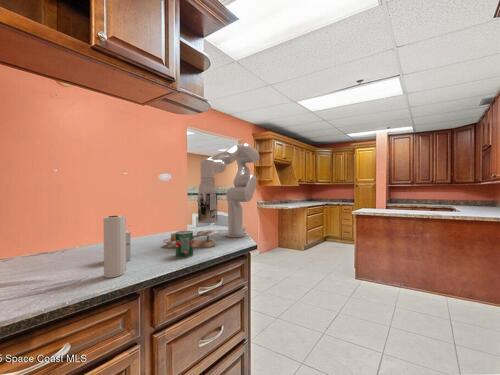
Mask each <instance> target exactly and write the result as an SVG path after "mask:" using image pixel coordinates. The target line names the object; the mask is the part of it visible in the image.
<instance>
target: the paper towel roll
mask: <svg viewBox="0 0 500 375" xmlns="http://www.w3.org/2000/svg"><path fill="white" fill-rule="evenodd" d="M126 231H127V215H110V216H109V215H108V216H103V277H104V278H109V279H110V278H111V279H112V278H116V277H117V278H118V277H120V276H122V275H124V274H125V272H126V271H127V261H126Z"/></svg>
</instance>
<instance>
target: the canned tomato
mask: <svg viewBox="0 0 500 375" xmlns="http://www.w3.org/2000/svg"><path fill="white" fill-rule="evenodd" d="M174 233H175V234H176V236H175V237H176V238H175V239H176V248H175V258H178V259H188V258H193V256H194V247H193V240H194V238H193V236H194V231H193V230H180V231H175V232H174Z"/></svg>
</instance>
